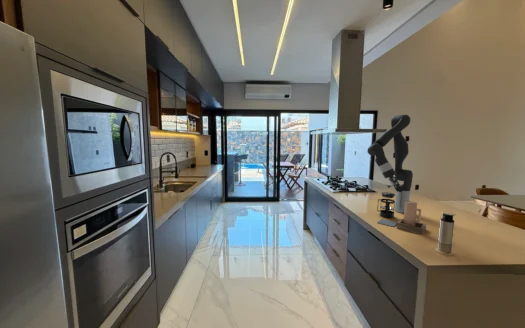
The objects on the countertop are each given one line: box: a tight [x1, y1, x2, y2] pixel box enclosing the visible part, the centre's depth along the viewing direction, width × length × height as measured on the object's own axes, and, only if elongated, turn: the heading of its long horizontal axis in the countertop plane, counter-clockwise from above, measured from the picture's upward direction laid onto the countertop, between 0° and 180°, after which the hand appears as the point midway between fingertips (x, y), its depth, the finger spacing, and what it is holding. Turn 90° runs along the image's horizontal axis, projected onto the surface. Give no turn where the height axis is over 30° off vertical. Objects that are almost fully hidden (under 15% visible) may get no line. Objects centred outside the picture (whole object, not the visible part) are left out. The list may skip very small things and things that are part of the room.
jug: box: [403, 200, 422, 226], centre depth 141 cm, size 6×9×17 cm
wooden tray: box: [396, 218, 427, 235], centre depth 142 cm, size 11×13×4 cm
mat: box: [376, 218, 398, 228], centre depth 151 cm, size 10×10×1 cm
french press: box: [376, 184, 396, 219], centre depth 165 cm, size 12×9×23 cm
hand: (399, 191), depth 151 cm, fingers open, 8 cm apart
